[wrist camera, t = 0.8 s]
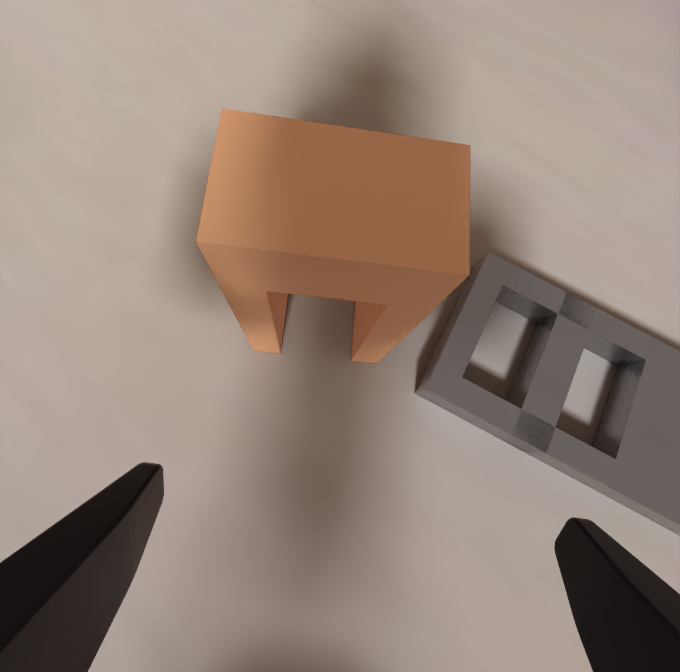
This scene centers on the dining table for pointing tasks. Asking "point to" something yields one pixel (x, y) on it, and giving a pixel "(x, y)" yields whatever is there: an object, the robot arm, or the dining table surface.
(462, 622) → the dining table surface
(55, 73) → the dining table surface
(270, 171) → the clip
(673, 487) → the gray slotted base
